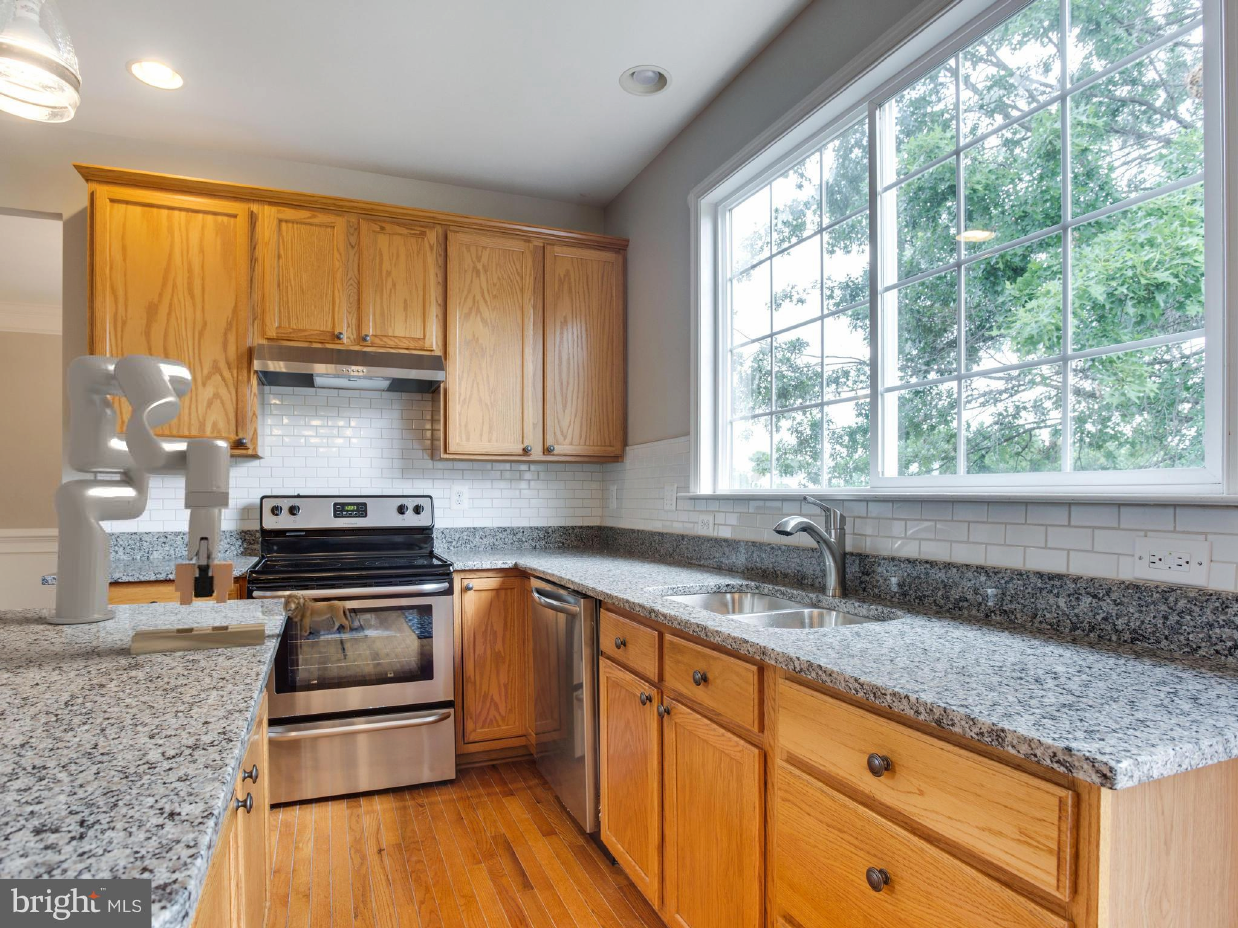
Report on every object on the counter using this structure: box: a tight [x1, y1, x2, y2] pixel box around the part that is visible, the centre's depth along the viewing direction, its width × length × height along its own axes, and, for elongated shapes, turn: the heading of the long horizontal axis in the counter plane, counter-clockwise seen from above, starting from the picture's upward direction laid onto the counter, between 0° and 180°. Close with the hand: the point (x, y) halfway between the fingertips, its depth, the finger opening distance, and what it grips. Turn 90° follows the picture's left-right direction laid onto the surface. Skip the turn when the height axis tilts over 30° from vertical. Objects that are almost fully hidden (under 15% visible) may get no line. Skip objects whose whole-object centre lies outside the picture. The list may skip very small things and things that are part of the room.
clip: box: [174, 561, 235, 606], centre depth 138 cm, size 4×10×8 cm, turn 117°
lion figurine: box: [282, 591, 357, 637], centre depth 152 cm, size 15×5×9 cm, turn 120°
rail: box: [130, 622, 266, 655], centre depth 138 cm, size 7×22×3 cm, turn 117°
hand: (204, 594), depth 138 cm, fingers closed on clip, 3 cm apart
